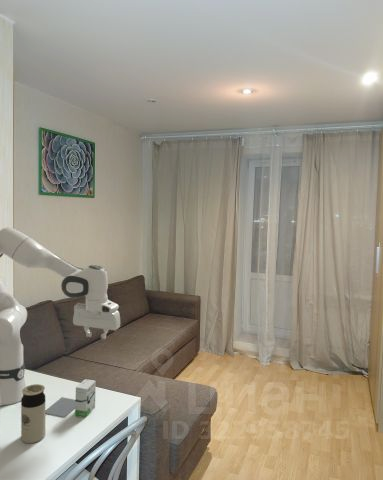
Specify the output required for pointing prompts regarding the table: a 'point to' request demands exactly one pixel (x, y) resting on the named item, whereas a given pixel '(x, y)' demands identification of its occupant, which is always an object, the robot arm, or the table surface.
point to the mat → (61, 407)
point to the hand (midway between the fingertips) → (96, 337)
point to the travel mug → (33, 413)
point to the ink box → (85, 398)
